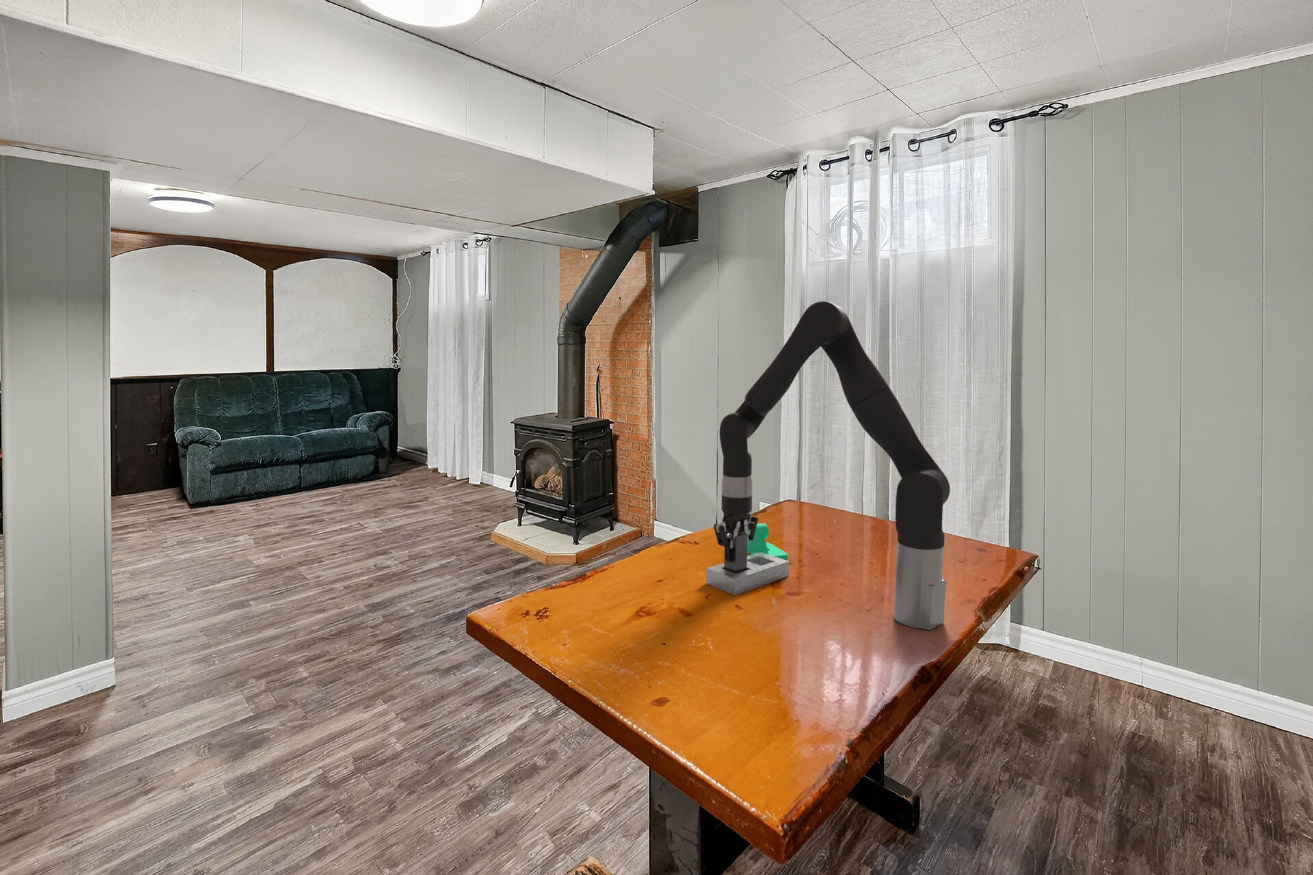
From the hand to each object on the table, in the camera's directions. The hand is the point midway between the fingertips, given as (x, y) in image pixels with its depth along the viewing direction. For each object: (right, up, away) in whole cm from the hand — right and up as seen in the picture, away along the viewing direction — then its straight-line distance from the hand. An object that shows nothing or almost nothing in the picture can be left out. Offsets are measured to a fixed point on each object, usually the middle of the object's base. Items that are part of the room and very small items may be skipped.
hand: (735, 559), depth 157 cm
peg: (0, -3, +1) cm, 3 cm away
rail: (+4, -6, +4) cm, 8 cm away
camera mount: (+11, -4, +21) cm, 24 cm away
